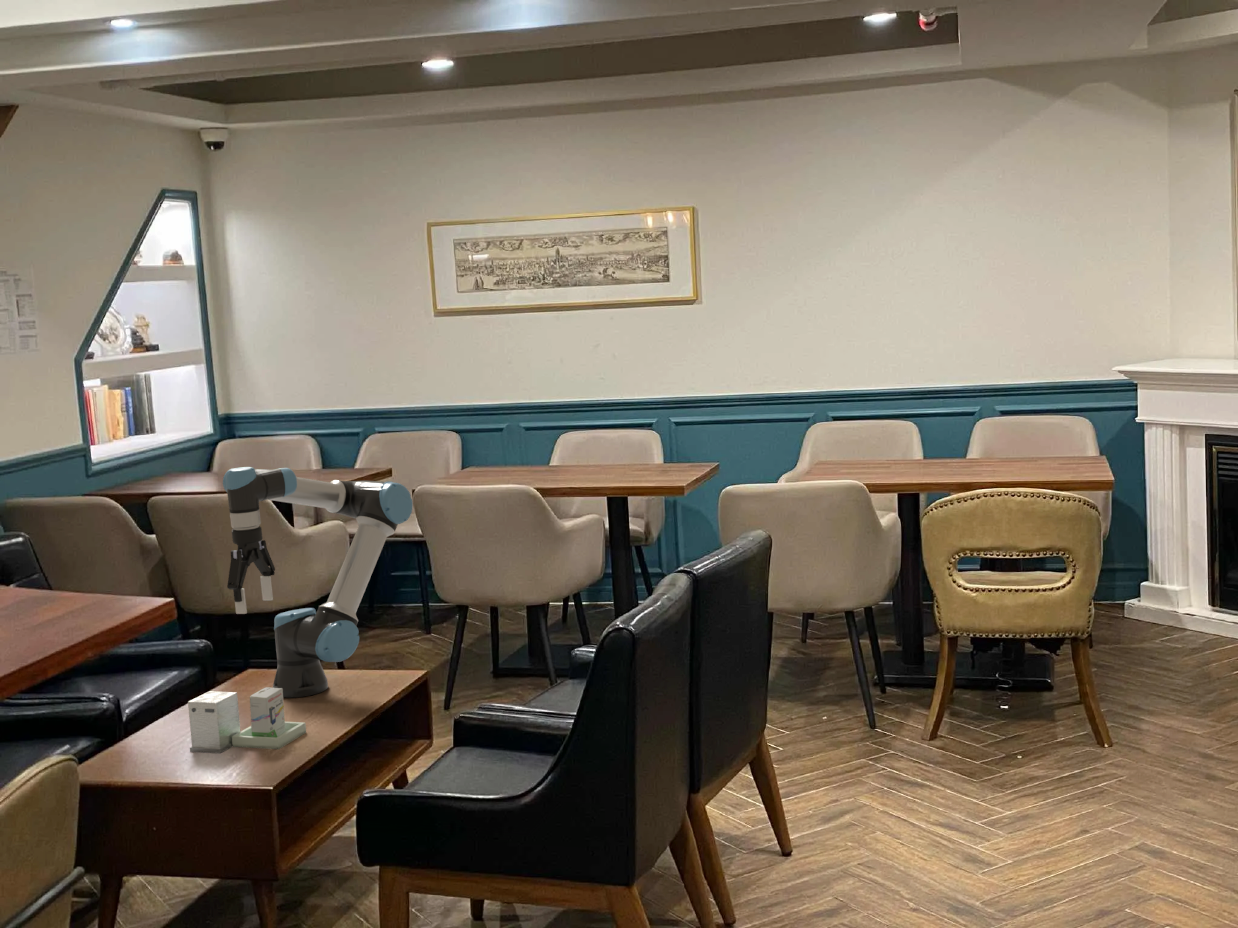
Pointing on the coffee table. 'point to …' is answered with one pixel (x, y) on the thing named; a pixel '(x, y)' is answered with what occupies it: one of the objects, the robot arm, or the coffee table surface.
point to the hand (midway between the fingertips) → (255, 606)
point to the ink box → (267, 712)
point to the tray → (249, 741)
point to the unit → (213, 721)
